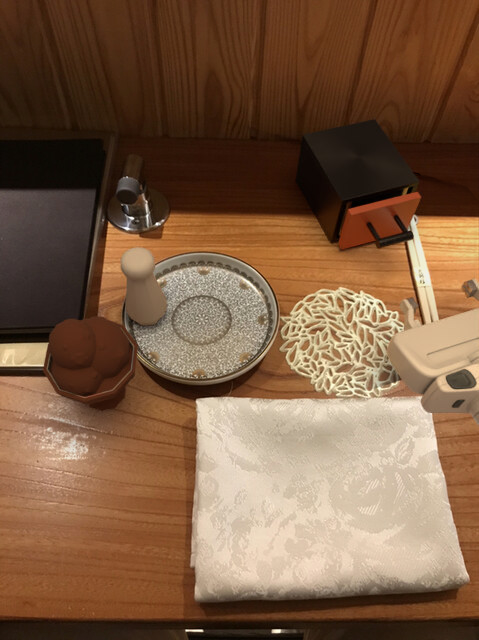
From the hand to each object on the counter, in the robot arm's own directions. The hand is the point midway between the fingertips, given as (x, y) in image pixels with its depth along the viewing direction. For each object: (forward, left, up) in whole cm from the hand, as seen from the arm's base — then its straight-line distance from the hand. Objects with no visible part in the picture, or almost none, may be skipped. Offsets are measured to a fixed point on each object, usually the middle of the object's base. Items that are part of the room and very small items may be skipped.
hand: (436, 291), depth 75 cm
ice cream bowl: (+37, +26, -8) cm, 46 cm away
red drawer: (+12, -15, -7) cm, 21 cm away
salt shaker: (+37, +13, -8) cm, 40 cm away
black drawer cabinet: (+16, -19, -8) cm, 26 cm away
